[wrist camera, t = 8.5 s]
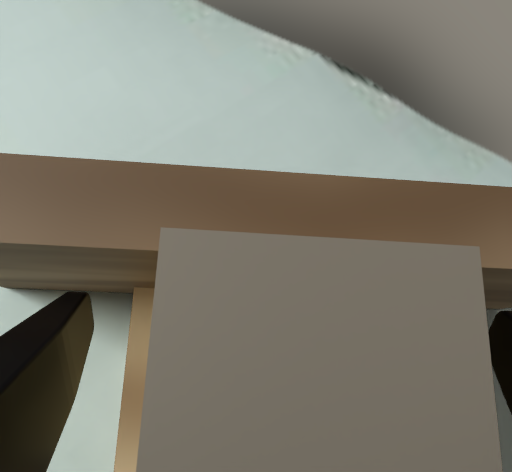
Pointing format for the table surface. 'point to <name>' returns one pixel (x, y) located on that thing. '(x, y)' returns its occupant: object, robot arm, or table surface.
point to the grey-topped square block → (317, 357)
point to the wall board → (217, 219)
